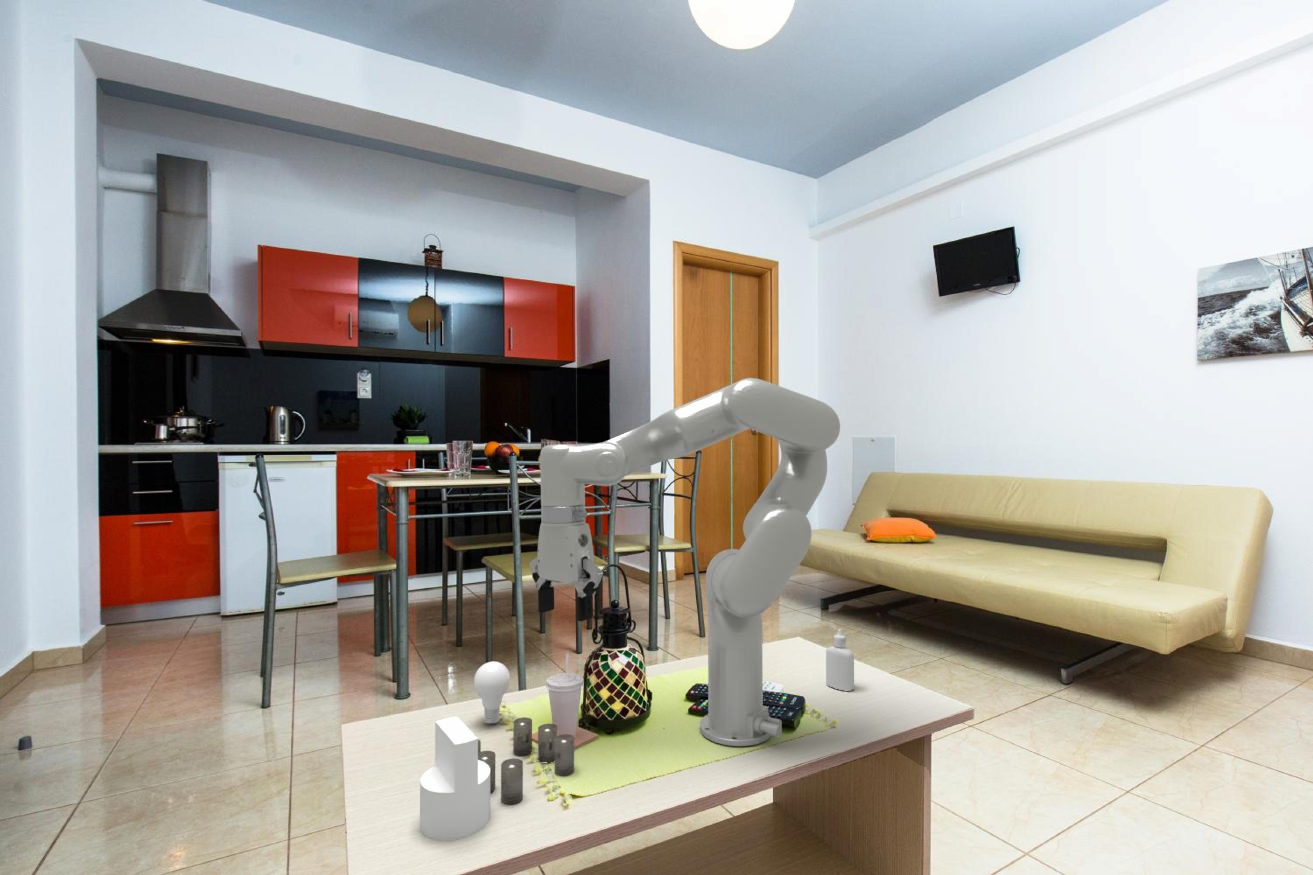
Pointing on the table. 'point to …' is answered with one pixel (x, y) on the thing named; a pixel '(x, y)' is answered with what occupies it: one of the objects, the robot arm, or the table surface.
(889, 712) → the table surface
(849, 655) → the eye dropper bottle
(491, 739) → the table surface
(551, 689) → the smoothie
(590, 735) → the tile
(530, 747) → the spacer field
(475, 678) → the lightbulb
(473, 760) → the base with upright slab
